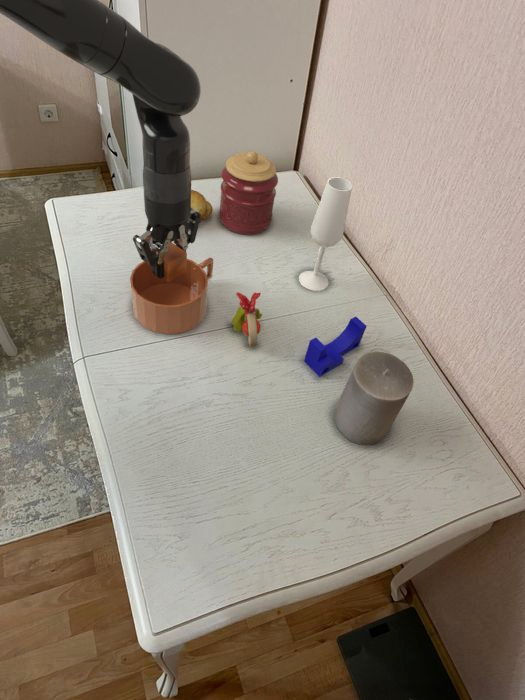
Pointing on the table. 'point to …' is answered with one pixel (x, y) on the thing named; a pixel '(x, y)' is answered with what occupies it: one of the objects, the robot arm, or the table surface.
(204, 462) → the table surface
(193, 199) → the bread roll
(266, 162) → the kitchen canister
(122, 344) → the table surface
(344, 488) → the table surface
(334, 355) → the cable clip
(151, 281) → the measuring cup
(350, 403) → the pillar candle
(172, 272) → the orange block
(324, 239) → the champagne flute
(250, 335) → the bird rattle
